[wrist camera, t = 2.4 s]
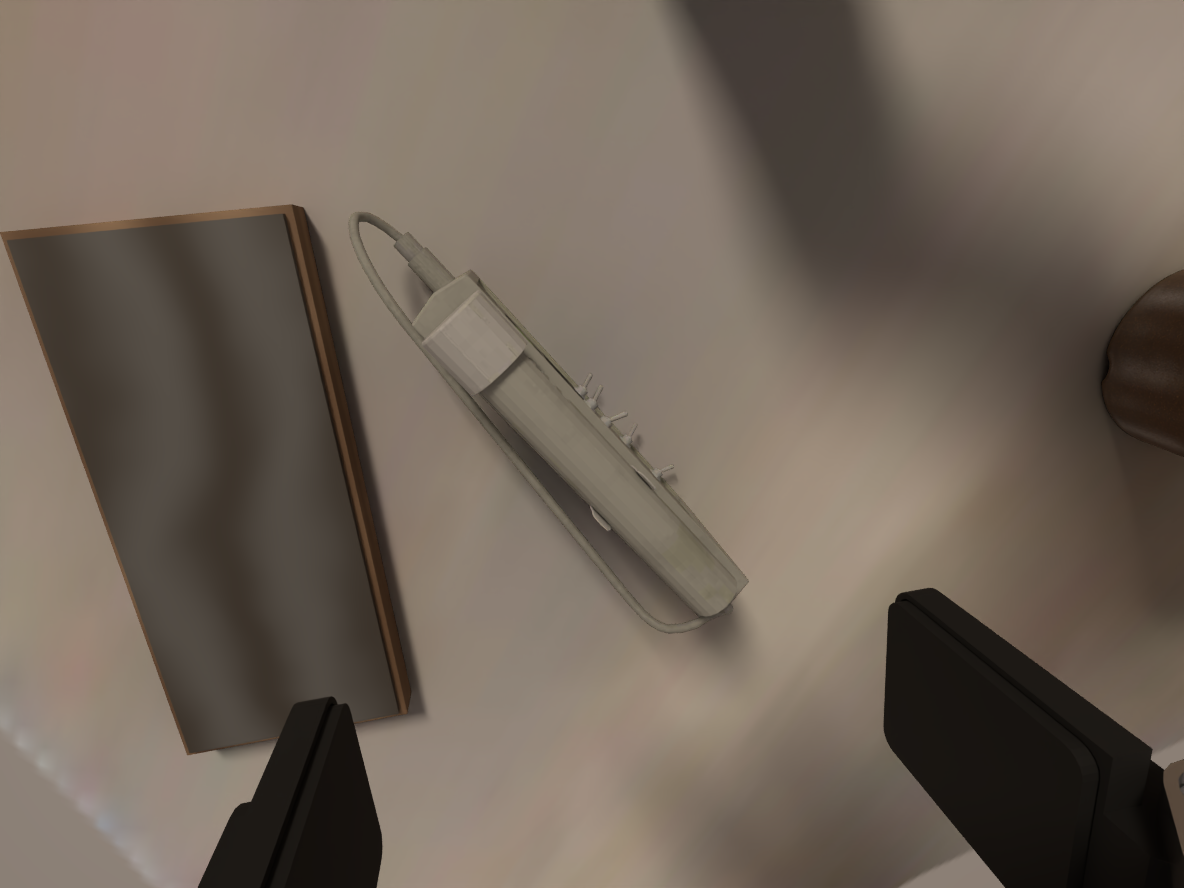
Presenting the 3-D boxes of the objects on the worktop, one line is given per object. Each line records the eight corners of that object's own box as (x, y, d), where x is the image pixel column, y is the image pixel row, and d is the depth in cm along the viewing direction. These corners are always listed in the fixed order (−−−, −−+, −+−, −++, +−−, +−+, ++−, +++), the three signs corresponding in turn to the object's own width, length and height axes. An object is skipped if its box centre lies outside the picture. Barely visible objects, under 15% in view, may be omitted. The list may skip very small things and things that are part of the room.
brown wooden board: (303, 207, 33) (289, 203, 31) (411, 691, 42) (406, 718, 40) (30, 233, 32) (-7, 231, 29) (202, 730, 41) (184, 760, 38)
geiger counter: (801, 604, 28) (368, 123, 20) (692, 697, 29) (228, 260, 21) (699, 494, 41) (413, 176, 34) (626, 558, 42) (327, 259, 34)
